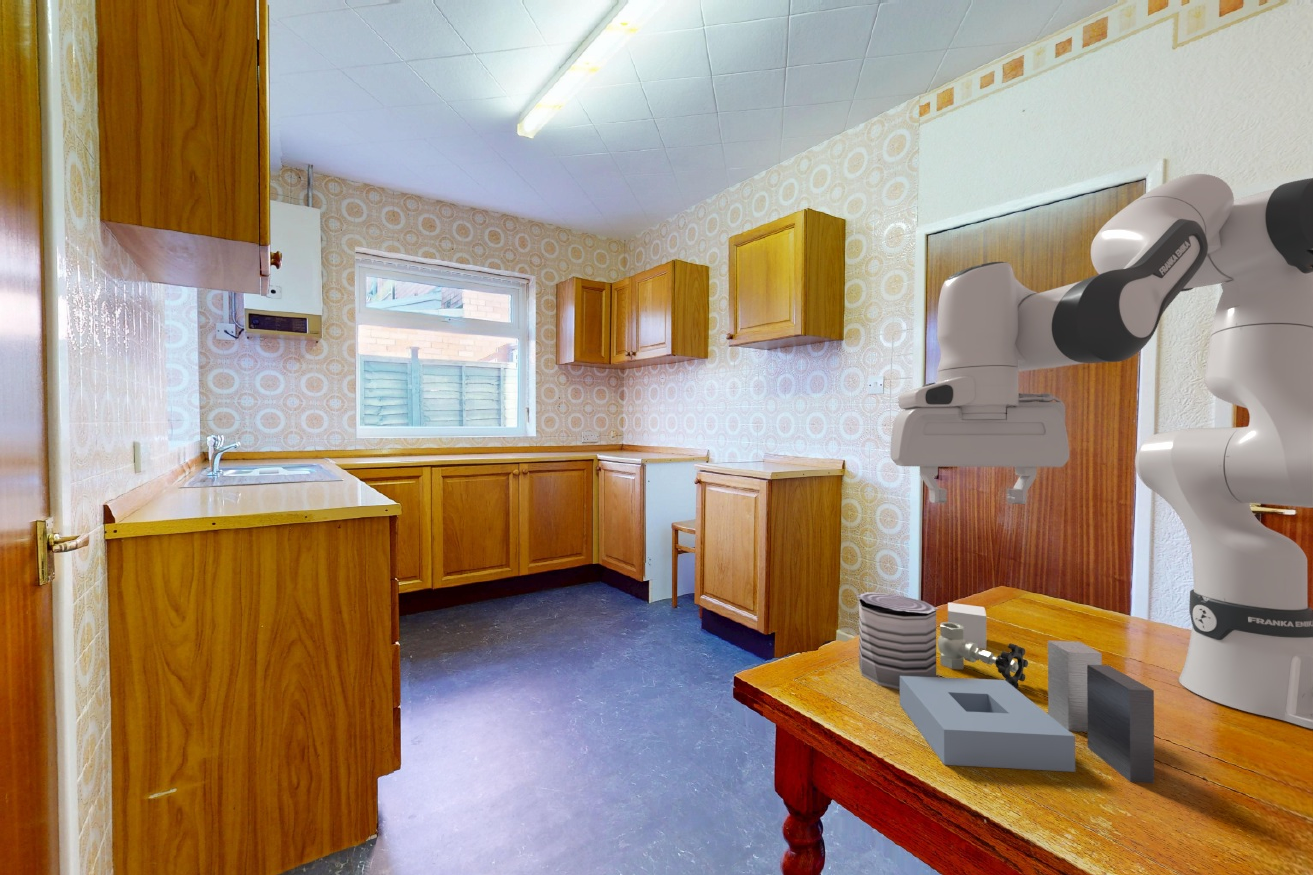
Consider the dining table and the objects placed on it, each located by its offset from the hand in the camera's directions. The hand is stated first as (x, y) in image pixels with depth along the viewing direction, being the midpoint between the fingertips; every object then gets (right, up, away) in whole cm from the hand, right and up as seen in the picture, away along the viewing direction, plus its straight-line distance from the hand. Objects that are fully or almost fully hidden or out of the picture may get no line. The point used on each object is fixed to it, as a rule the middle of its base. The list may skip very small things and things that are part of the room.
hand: (976, 503), depth 67 cm
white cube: (+17, -30, +31) cm, 46 cm away
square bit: (+14, -29, +3) cm, 33 cm away
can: (-2, -30, +17) cm, 34 cm away
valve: (+10, -30, +17) cm, 36 cm away
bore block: (0, -29, 0) cm, 29 cm away
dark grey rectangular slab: (+12, -29, -6) cm, 32 cm away
